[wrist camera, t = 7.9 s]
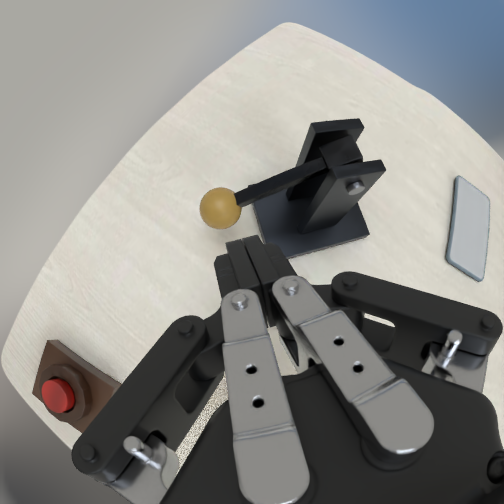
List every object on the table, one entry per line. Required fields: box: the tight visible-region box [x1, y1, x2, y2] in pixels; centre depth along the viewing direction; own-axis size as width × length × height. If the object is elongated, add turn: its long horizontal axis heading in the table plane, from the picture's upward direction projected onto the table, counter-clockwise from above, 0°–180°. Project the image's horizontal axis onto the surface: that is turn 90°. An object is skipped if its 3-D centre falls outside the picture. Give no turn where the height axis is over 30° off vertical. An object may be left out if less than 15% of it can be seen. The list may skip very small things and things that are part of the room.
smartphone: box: [446, 176, 490, 282], centre depth 33 cm, size 8×1×15 cm
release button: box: [42, 378, 75, 413], centre depth 22 cm, size 4×4×2 cm
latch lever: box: [200, 135, 363, 229], centre depth 23 cm, size 14×4×4 cm, turn 106°
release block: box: [32, 340, 122, 433], centre depth 24 cm, size 10×8×4 cm
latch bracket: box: [248, 118, 386, 259], centre depth 26 cm, size 12×9×14 cm
